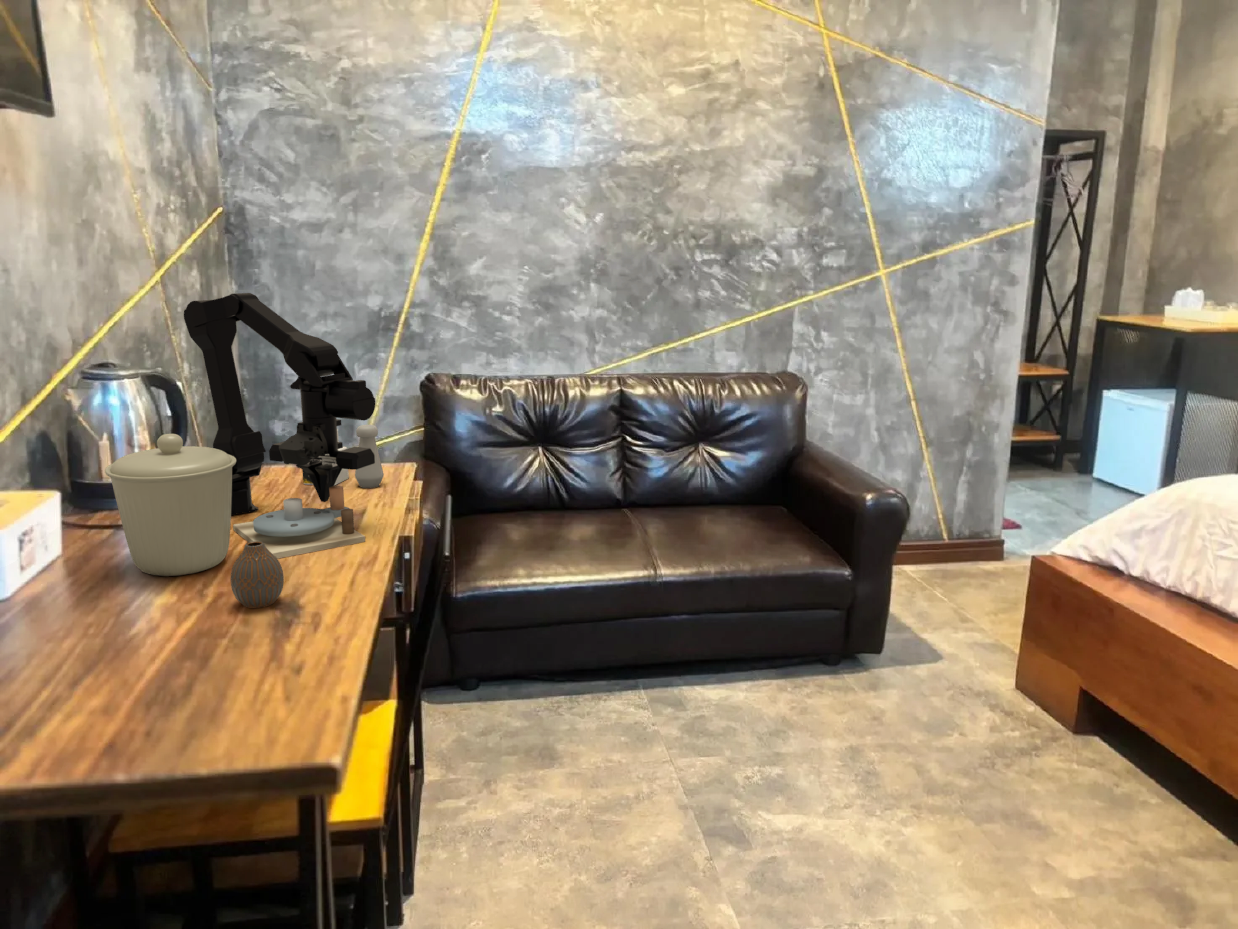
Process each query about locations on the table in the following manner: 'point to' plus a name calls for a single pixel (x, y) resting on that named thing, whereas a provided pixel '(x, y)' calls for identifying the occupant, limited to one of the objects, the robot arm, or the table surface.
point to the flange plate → (303, 524)
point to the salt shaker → (374, 472)
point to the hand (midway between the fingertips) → (324, 501)
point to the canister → (174, 506)
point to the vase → (256, 576)
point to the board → (306, 537)
